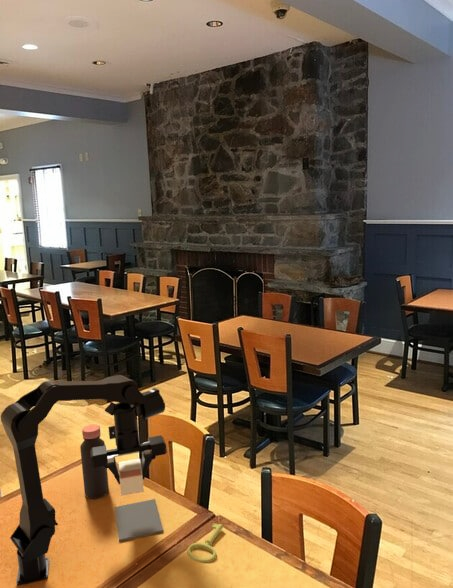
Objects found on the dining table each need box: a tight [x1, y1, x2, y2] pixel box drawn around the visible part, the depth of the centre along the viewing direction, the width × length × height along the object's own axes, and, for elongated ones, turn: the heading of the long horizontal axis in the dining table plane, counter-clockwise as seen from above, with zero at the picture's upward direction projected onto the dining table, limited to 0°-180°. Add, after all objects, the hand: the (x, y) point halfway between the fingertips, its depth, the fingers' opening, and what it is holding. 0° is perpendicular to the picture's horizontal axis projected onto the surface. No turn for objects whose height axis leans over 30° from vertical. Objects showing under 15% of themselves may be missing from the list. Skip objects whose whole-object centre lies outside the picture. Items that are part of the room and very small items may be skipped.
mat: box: [114, 498, 164, 543], centre depth 128 cm, size 14×11×1 cm
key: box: [186, 523, 224, 563], centre depth 118 cm, size 7×12×2 cm, turn 170°
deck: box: [118, 458, 145, 497], centre depth 126 cm, size 6×9×5 cm, turn 14°
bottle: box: [79, 423, 110, 499], centre depth 140 cm, size 7×7×20 cm
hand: (131, 481), depth 126 cm, fingers closed on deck, 6 cm apart
